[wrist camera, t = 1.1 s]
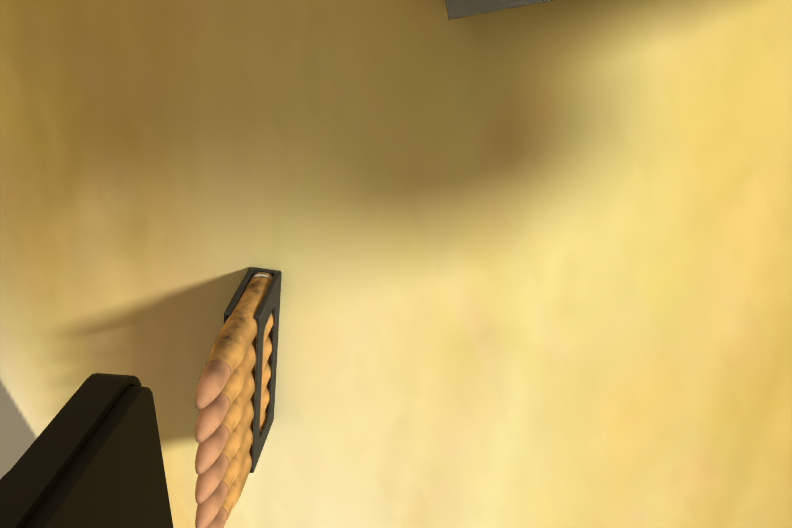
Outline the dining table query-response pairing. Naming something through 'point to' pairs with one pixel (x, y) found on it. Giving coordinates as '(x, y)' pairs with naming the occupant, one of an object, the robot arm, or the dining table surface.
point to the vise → (482, 6)
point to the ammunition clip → (237, 396)
